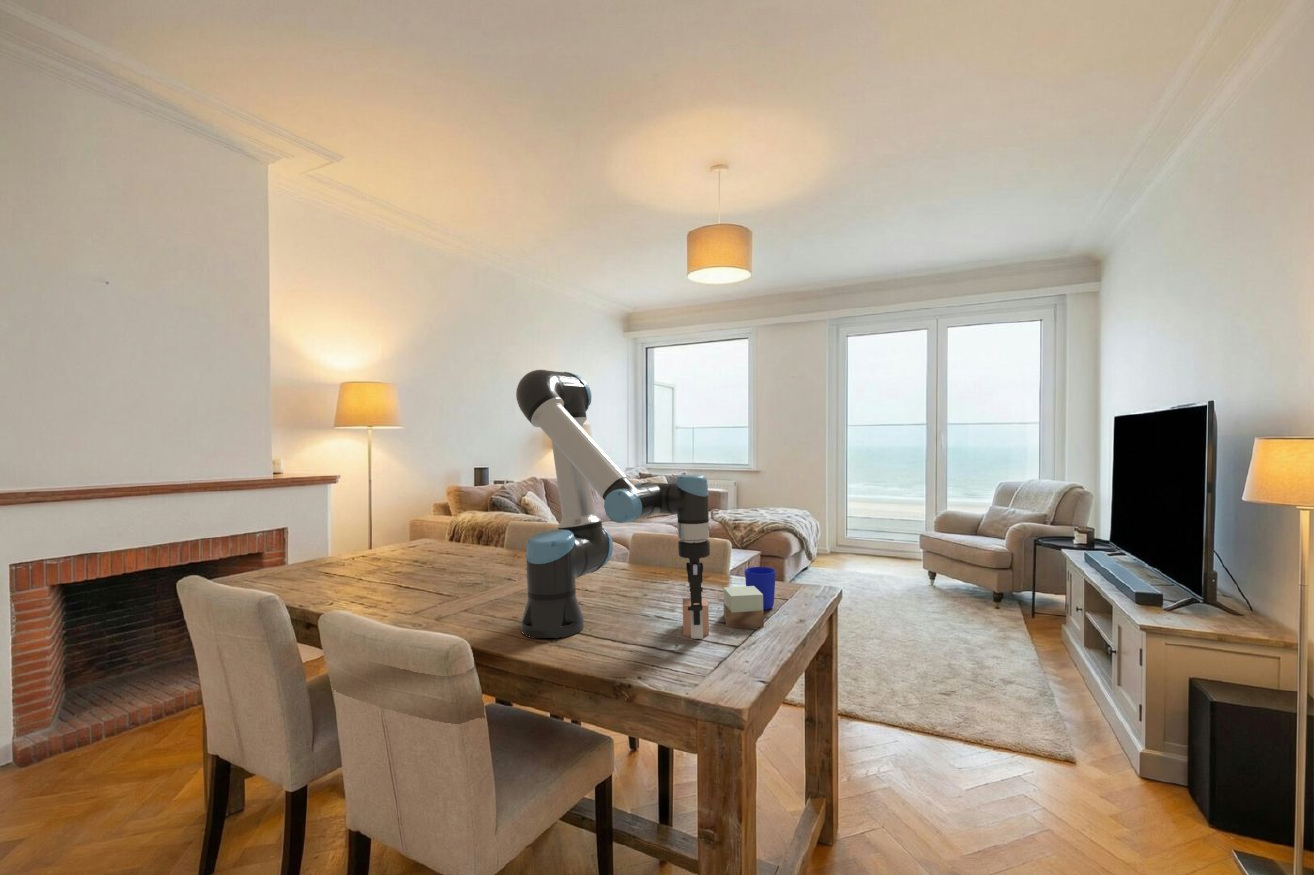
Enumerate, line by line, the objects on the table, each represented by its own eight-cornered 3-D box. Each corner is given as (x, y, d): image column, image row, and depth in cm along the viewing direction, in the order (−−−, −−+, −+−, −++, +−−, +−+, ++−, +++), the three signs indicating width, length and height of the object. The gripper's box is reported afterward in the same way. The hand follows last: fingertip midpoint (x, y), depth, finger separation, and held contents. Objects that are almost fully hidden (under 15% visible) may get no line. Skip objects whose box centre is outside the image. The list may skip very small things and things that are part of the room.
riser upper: (731, 612, 145) (731, 596, 145) (723, 603, 153) (723, 587, 153) (763, 610, 146) (763, 594, 146) (754, 601, 154) (753, 585, 154)
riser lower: (726, 628, 146) (726, 612, 146) (723, 617, 155) (723, 601, 155) (763, 628, 145) (763, 612, 145) (758, 616, 154) (758, 601, 154)
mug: (773, 598, 168) (772, 563, 168) (777, 612, 156) (777, 574, 156) (744, 598, 169) (743, 563, 169) (746, 611, 157) (745, 573, 157)
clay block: (683, 635, 141) (682, 605, 141) (683, 626, 147) (682, 598, 147) (708, 635, 140) (708, 605, 140) (707, 626, 146) (707, 598, 146)
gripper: (712, 549, 131) (715, 646, 131) (707, 530, 156) (709, 611, 156) (677, 550, 131) (680, 647, 131) (678, 531, 156) (680, 612, 156)
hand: (696, 628), depth 144 cm, fingers open, 13 cm apart
